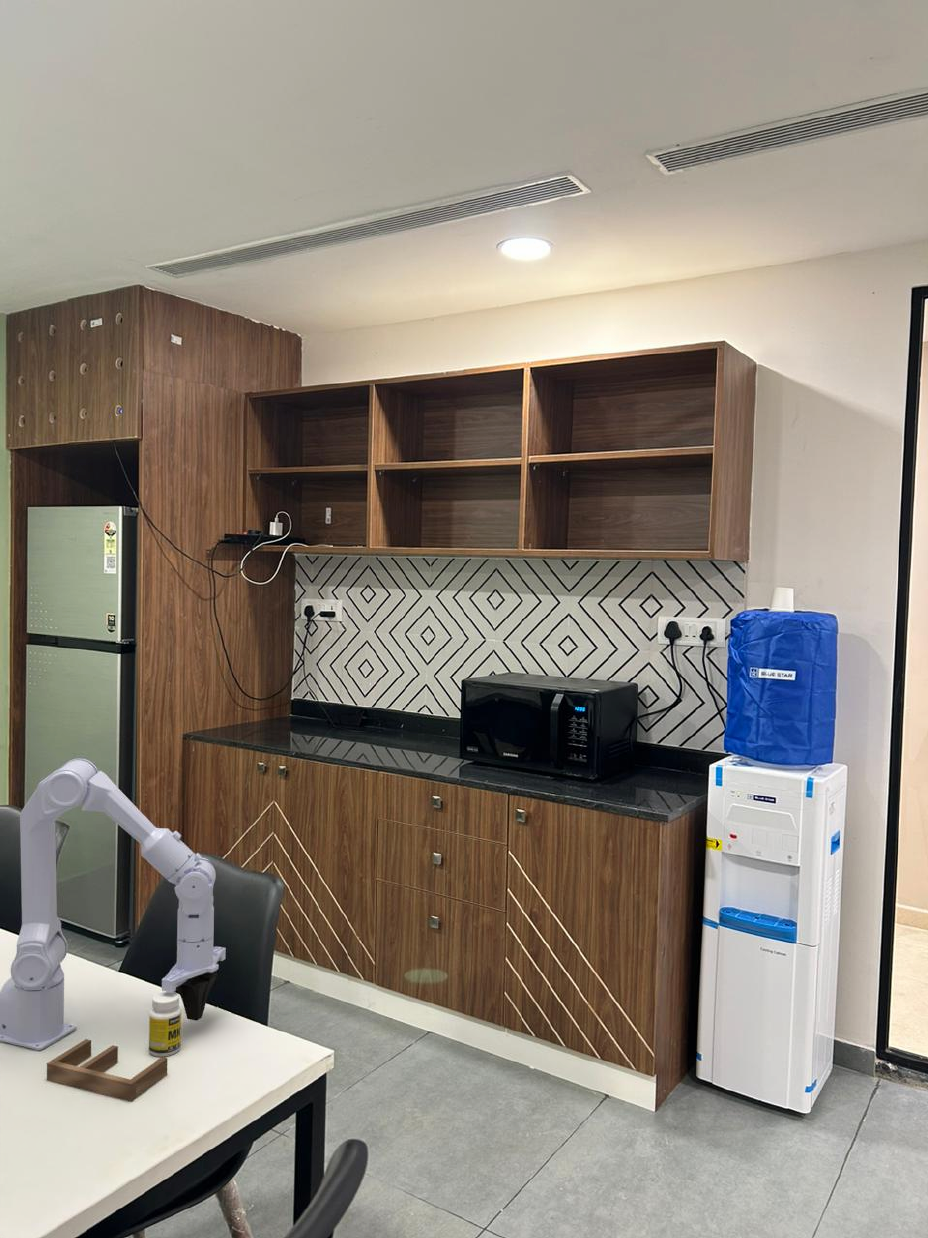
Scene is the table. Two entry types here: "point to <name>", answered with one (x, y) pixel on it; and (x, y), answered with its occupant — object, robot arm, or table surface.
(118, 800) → the robot arm
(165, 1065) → the frame
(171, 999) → the supplement bottle
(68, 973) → the table surface
